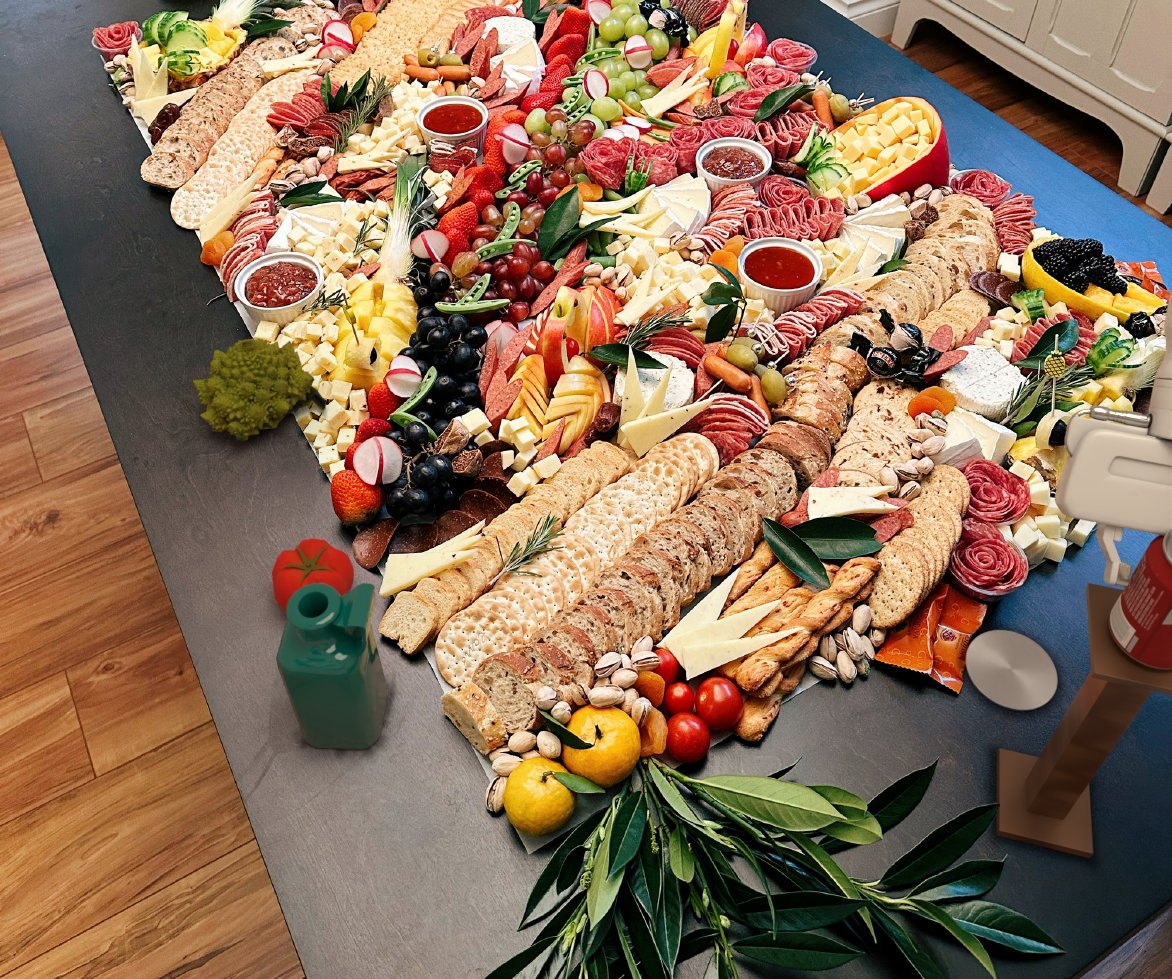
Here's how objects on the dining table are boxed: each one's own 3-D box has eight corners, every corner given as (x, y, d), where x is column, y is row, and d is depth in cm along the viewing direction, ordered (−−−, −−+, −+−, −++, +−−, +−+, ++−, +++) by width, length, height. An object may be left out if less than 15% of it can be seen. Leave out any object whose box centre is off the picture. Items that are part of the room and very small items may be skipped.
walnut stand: (1084, 774, 118) (1198, 605, 96) (1089, 858, 112) (1212, 698, 89) (996, 753, 120) (1088, 582, 97) (996, 835, 113) (1094, 672, 91)
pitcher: (300, 749, 120) (257, 639, 105) (317, 677, 126) (279, 564, 111) (390, 752, 120) (361, 643, 105) (403, 681, 126) (377, 567, 111)
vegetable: (353, 379, 155) (276, 334, 143) (291, 476, 153) (208, 439, 142) (296, 342, 164) (220, 298, 153) (237, 433, 162) (155, 395, 151)
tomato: (283, 637, 130) (270, 601, 125) (276, 576, 136) (263, 539, 131) (363, 617, 132) (354, 581, 127) (353, 557, 138) (343, 520, 133)
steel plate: (1055, 642, 129) (1056, 640, 129) (1058, 721, 122) (1059, 719, 122) (965, 623, 131) (966, 621, 131) (964, 699, 124) (964, 697, 124)
